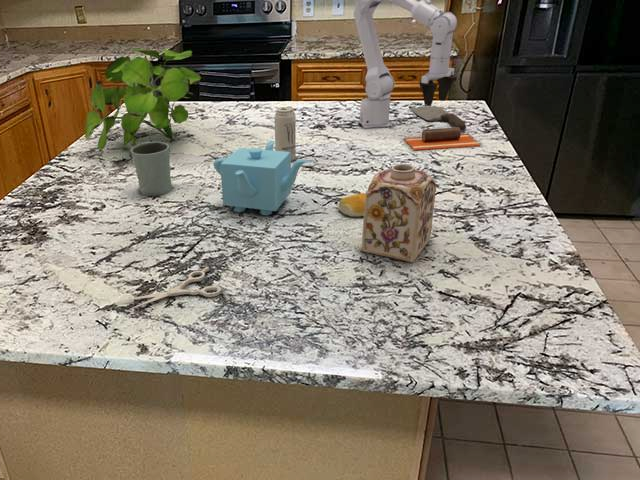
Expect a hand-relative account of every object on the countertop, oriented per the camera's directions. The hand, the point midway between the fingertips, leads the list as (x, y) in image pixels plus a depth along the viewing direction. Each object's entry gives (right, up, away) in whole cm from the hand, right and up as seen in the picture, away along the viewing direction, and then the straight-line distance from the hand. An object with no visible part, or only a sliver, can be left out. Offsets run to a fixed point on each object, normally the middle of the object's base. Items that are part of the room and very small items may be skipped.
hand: (435, 102), depth 192 cm
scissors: (-75, -61, -72) cm, 121 cm away
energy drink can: (-48, -21, -10) cm, 53 cm away
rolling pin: (0, -11, -4) cm, 12 cm away
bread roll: (-33, -41, -43) cm, 68 cm away
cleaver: (+7, -1, +16) cm, 17 cm away
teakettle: (-56, -39, -38) cm, 78 cm away
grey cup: (-85, -32, -25) cm, 94 cm away
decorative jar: (-28, -51, -60) cm, 84 cm away
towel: (+1, -14, -4) cm, 15 cm away
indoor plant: (-92, -10, +11) cm, 93 cm away
